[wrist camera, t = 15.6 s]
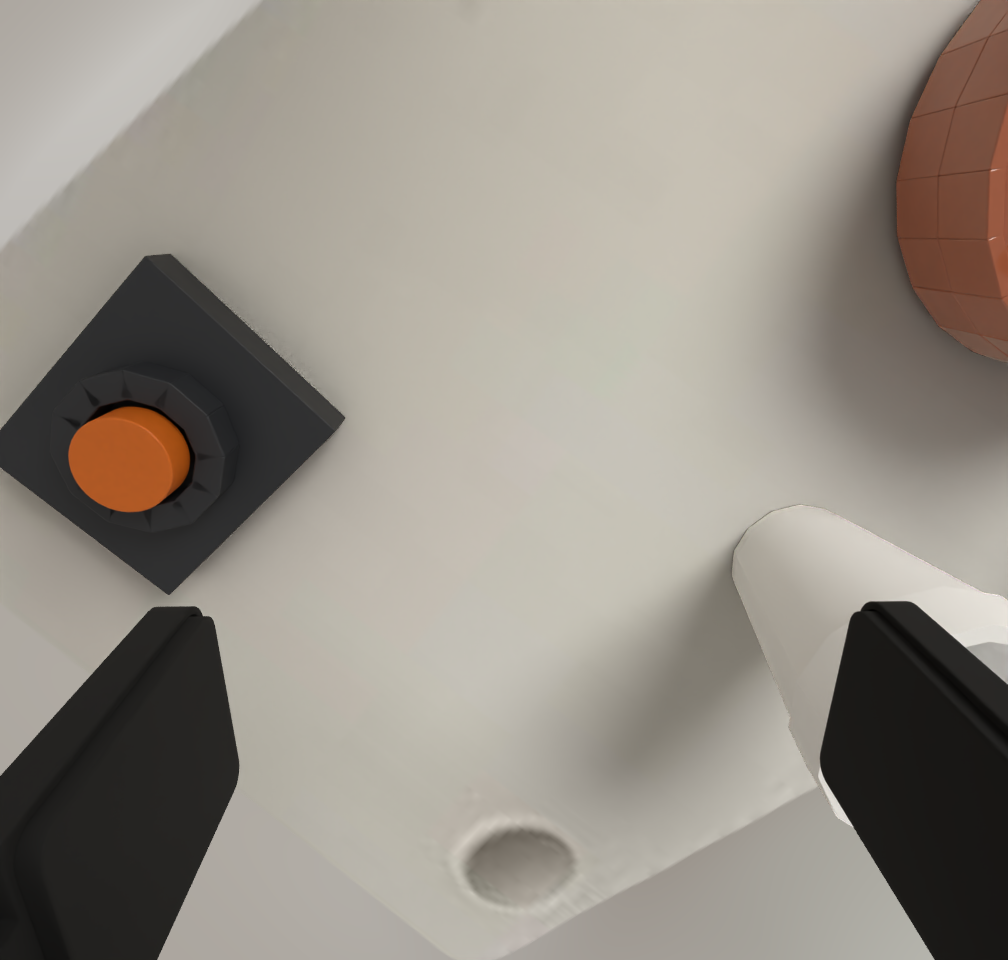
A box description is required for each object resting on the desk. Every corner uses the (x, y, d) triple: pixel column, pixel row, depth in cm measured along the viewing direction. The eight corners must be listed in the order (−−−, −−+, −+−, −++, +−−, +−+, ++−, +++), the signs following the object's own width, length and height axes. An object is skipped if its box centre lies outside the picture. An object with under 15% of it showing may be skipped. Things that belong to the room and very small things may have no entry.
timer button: (73, 450, 27) (46, 464, 26) (130, 385, 26) (106, 396, 25) (152, 514, 28) (132, 531, 27) (210, 454, 27) (192, 468, 26)
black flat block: (14, 438, 31) (-52, 467, 27) (170, 253, 28) (121, 257, 24) (188, 573, 33) (150, 616, 30) (346, 417, 31) (326, 443, 27)
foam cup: (865, 634, 36) (1060, 843, 24) (696, 641, 36) (804, 855, 24) (897, 471, 32) (1143, 618, 20) (710, 479, 32) (844, 631, 20)
